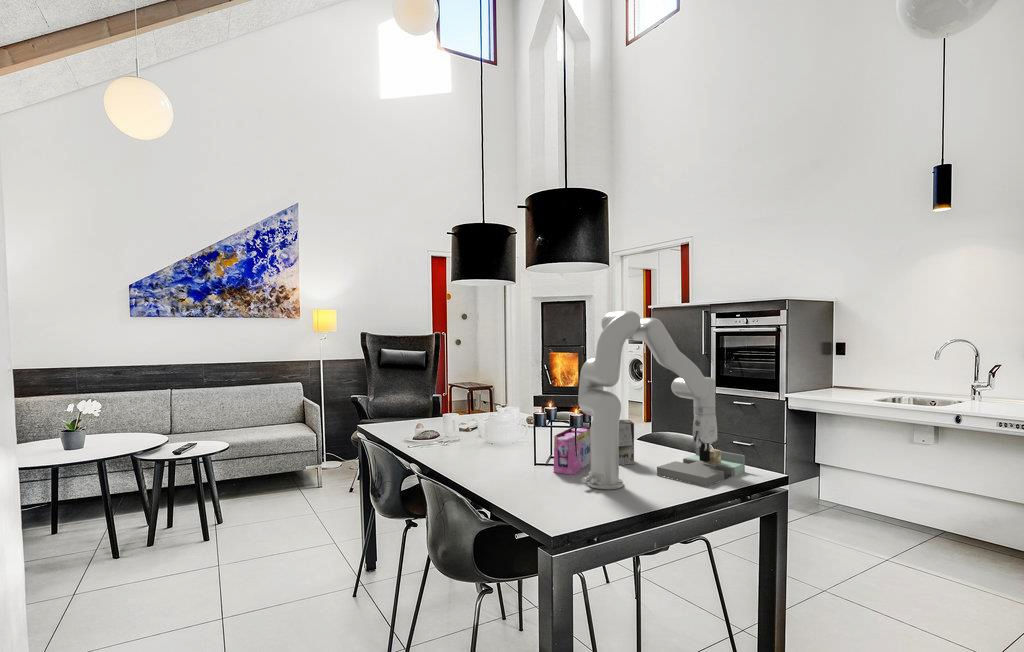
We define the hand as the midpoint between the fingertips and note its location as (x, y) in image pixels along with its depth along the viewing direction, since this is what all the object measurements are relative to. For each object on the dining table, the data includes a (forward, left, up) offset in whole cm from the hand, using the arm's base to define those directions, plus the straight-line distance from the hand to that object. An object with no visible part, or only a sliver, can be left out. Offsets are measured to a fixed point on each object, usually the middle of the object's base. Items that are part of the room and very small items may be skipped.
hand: (704, 460), depth 195 cm
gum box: (-29, +38, -4) cm, 48 cm away
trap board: (-2, 0, -4) cm, 5 cm away
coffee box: (-9, +29, -4) cm, 31 cm away
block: (+5, 0, -1) cm, 5 cm away
